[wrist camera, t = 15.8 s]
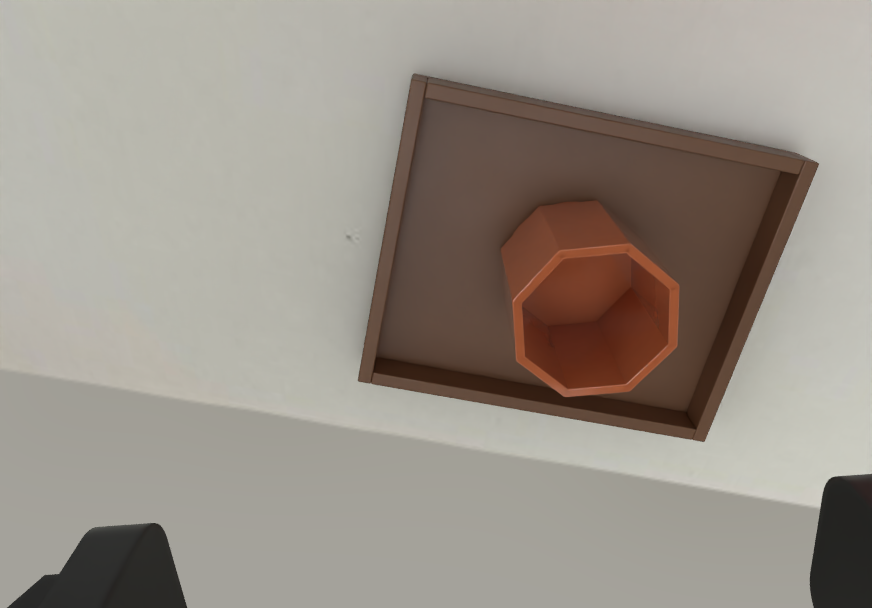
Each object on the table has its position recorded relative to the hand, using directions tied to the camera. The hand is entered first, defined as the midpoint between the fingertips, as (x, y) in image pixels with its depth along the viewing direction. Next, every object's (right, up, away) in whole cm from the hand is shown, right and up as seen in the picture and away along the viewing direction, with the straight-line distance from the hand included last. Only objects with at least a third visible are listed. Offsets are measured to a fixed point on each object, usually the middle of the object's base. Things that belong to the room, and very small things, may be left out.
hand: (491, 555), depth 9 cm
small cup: (+5, +5, +23) cm, 24 cm away
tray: (+5, +5, +23) cm, 24 cm away
